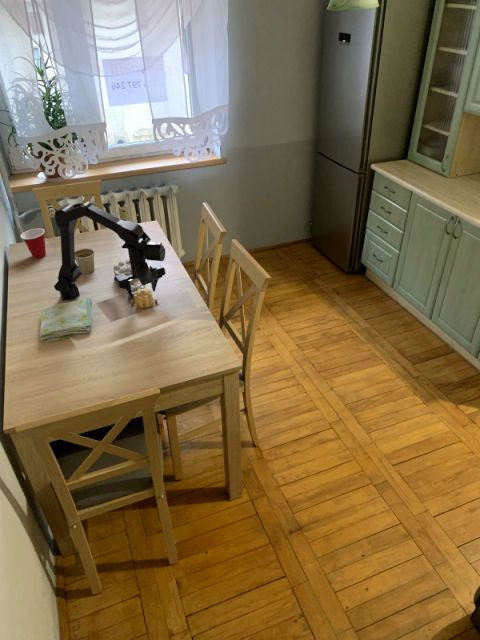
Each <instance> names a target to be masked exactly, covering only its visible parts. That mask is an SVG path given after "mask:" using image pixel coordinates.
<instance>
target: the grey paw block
mask: <svg viewBox="0 0 480 640" xmlns="http://www.w3.org/2000/svg"><path fill="white" fill-rule="evenodd" d="M129 260H130V259H122V260H120V261H118V262H116V263H115V264H114V265H113V268H112V269H113V274H114V275H113V276H114V277H115V276H117V275H121V274H124V275H125V276H130V275H132V273H131V271H130V270H131V265H130V263H129ZM138 280H139V279H135V280H132V281H130V286H133V285H134V282H136V281H138Z"/></svg>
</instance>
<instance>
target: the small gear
mask: <svg viewBox="0 0 480 640" xmlns="http://www.w3.org/2000/svg"><path fill="white" fill-rule="evenodd" d="M137 285H140V286H143V287H144V288H146V285H142V284H141V282H140V281H139V280H138V281H136V282H134V286H137Z"/></svg>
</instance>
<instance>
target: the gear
mask: <svg viewBox="0 0 480 640" xmlns="http://www.w3.org/2000/svg"><path fill="white" fill-rule="evenodd" d="M130 286H131V291H132V295H133V299H135V297H134V292H135V291H137V290H138V289H144V287H143V286H140V285H137V286H134V285H130ZM126 293H128V292H127V291H126ZM128 297H129V298H131V297H130V296H129V294H128Z"/></svg>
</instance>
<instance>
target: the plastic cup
mask: <svg viewBox="0 0 480 640" xmlns="http://www.w3.org/2000/svg"><path fill="white" fill-rule="evenodd" d="M19 238H21V239H22V240H23V241H24V243H25V245H26V246H27V249H28V251H29V252H30V254H31V256H32V258H33V259H36V260H37V259H42V258H44V257H46V255H47V253H46V251H47V250H46V242H45V241H46V239H45V229H44V228H39V227H37V228H32V229H28V230H26V231H24V232H22V233H21V234H20V237H19Z"/></svg>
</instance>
